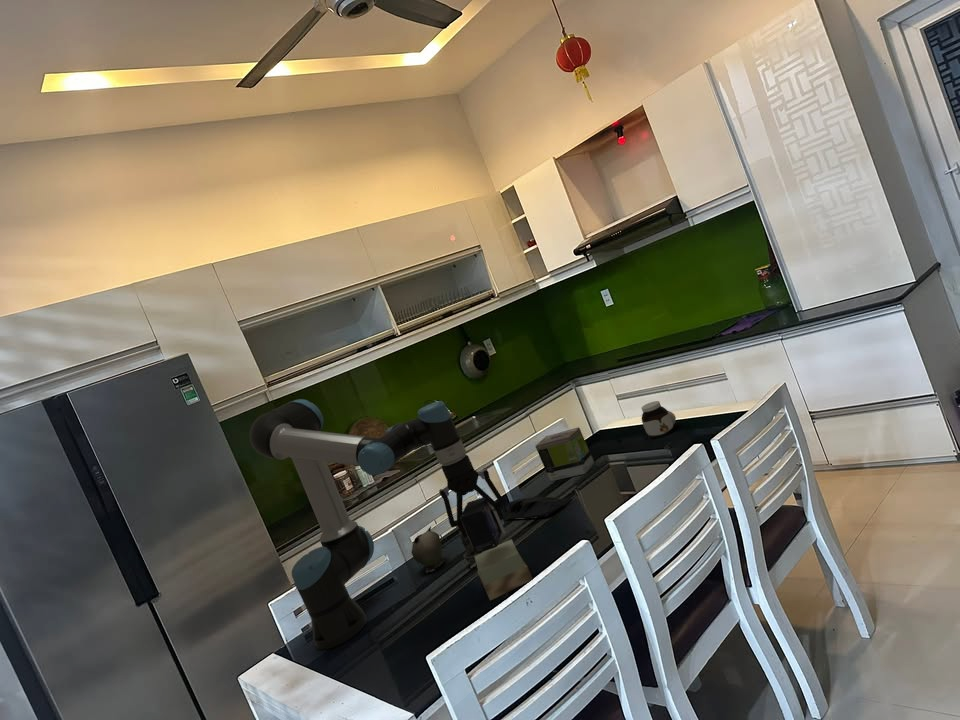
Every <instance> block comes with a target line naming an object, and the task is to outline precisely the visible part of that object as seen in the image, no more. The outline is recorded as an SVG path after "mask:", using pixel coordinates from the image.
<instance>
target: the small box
mask: <svg viewBox="0 0 960 720" xmlns="http://www.w3.org/2000/svg"><path fill="white" fill-rule="evenodd" d="M492 508H494V507H493V506H492V505H491V504H490V503H488V502H487V501H486V500H485V499H484V498H483V497H480V498H477V499H474V500H471V501H468V502H467V503H466V505H465V507H464V509H463V513H462V515H461V517H460V519H461V521H462V523H463V526H464V528H465V530H466V532H467V535H468V537H469V539H470V542H471V544H472V546H473V549H474V551H475V554H478V553H480V552H482V553H483V552H485V551H487V550H489V549H492V548H495V547H497V546H498V545H499V542H500V539H501V536H502V534H503V533H502V532H501V530H500V527H499V525H498V523H497V521H496V518H495V516H494V514H493V511H492Z"/></svg>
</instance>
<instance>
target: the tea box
mask: <svg viewBox="0 0 960 720" xmlns="http://www.w3.org/2000/svg"><path fill="white" fill-rule="evenodd" d="M535 449H536V451H537V453H538V456H539V458H540V460H541V463H542V465H543V467H544V469H545V472H546V475H547V477H548V479H549V481H550V482H553V481H557V480H562V479H567V478H572V477H577V476H580V475H581V476H582V475H585V474H587V472H588V471H589V470H590V469H591V468H592V467H593V466H594V464H595V462H594V458H593V456H592V454H591V452H590V450H589V448H588V444H587V442H586V439H585V437H584V435H583V433H582V430H581V428H580V426H579V427H575V428H572V429H571V428H570V429H568V430H567V429H566V430H563V431H560V432H557V433H553V434H550V435H546V436H544V437H543V438H542V439H541V440H540V441H539V442H537V444H536V445H535Z"/></svg>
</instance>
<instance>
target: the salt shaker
mask: <svg viewBox="0 0 960 720" xmlns="http://www.w3.org/2000/svg"><path fill="white" fill-rule="evenodd" d="M458 534H459V537H460V539H461V544H462V545H463V547H464V549H465V553H464V554H463V559H464V560H465V561H466V562H468V563H474V562H476V561H475V557H474V556H476V555H478V554H480V553H483V552H480V553H478V554H475V551H474V549H473V547H472V545H471V542H470V540H469V538H468V536H467V537H465V538H464V537H463V535H462V533H461V531H460V530H459V531H458Z"/></svg>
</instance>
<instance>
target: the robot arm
mask: <svg viewBox="0 0 960 720" xmlns="http://www.w3.org/2000/svg"><path fill="white" fill-rule="evenodd" d="M323 426H324V417H323V414H322V412H321V410H320V408H318V406H317V405H316V404H314V403H313V402H310V401H309V400H308V399H303V398H301V399H300V398H299V399H295V400H292V401H288V402H287V403H285V404H282V405H281V406H279V407H277V408H274V409H271V410H270V411H268V412H266V413H263V414H260V415H259V416H258V417H257V418H256V419H255V420H254V421H253V423H252V424H251V427H250V430H249V442H250V444H251V447H252V448H253V450H255V452H257V453H258V454H260V455H261V456H263V457H266V458H268V459H275V460H281V461H282V460H286V459H287V458H291V460H292V462H293V464H294V467H295V469H296V472H297V474H298V476H299V479H300V482H301V484H302V486H303V487H302V488H303V489H304V491H305V493H306V495H307V498H308V501H309V503H310V505H311V508H312V510H313V513H314V515H315V517H316V519H317V520H316V521H317V522H318V525H319V527H320V530H321V534H320V537H319V541H320V544H321V546H320V547H316V548H314V549H312V550H310V551H309V552H308V553H306V554H304V555H302V557H300V558H299V559H298V561H296V563H295V564H294V565H293V567H292V568H291V569H292V570H291V577H292V580H293V584H294V586H295V588H296V589H297V591H298V593H299V596H300V598H301V600H302V602H303V604H304V606H305V608H306V611H307V613H308V614H309V618H310V619H311V620H310V621H311V629H312V639H313V642H314V644H315V647H316V648H317V649H318V650H321V651H324V650H330V649H333V648H335V647H337V646H340V645H341V644H344V643H346V642H347V641H349V640H351V639H352V638H353V637H355V636H356V635H357V634H358V633H359V632H360V631H362V629H363V628H364V627H365V626H366V624H367V621H368V617H367V615H366V613H365V611H364V609H362V607H361V606H359V604H358V603H357V602H356V601H355V600H354V599H353V598H352V597H351V595H350V594H349V592H348V589H347V587H346V584H347V583H348V582H349V581H350V580H351V579H352V578H353V577H354V576H356V574H357V573H359V572H360V571H361V570H362V569H363V568H365V567H366V565H367V564H368V563H369V562H370V561H371V559H372V557H373V555H374V552H375V544H374V540H373V537H372V535H371V534H370V532H369V531H368V530H366V528H365V527H364V526H361V525H359V524H358V522H357V521H355V520H352V519H350V517H349V515H348V514H349V513H348V511H347V509H346V507H345V503H344V502H343V500H342V497H341V495H340V492H339V489H338V487H337V484H336V482H335V480H334V477H333V475H332V472H331V470H330V468H329V465H328V463H332V464H333V463H334V464H339V465H340V464H341V465H349V466H355V467H356V466H357V467H359V468H360V469H361V470H362V472H364V473H365V474H367V475H369V476H371V477H372V476H374V477H375V476H379V475H380V474H382V473H384V472H387V471H388V470H389V469H391V468H392V467H393V466H394V465H395V464H397V463H398V462H399V461H400V460H402V459H403V458H405V457H406V456H407V455H408V454H410V453H412V452H413V451H414V450H416V449H418V448H421V447H424V446H428V445H430V446H431V448H432V449H433V452H434V455H435V456H436V459H437V461H438V463H439V465H442V466H441V469H442V472H443V475H444V476H445V479H446V481H447V483H446V485H447V486H445V487H444V488H441V489H439V491H438V493H439V495H440V496H441V498H442V500H443V503H444V506H445V511H446V514H447V518H448V523H449V525H450V528H455V527H457V528H458V529H459V532H460V531H461V533H462V535H463V537H464V538H465V537H467V536H468V535H467V532H466V530H465V528H464V526H463V523H462V521H461V519H460V517H461V515H462V513H463V511H464V509H463V497H464V496H466V495H467V494H468V493H472V492H474V491H475V492H476V493H478V494H479V495H480V496H481V498H484V499H485V500H486V501H487V502H488V503H490V504H491V505H492V507H493V508H492V511H493V514H494V516H495V518H496V521H497V523H498V525H499V527H500V530H501V532H502V533H501V534H502V535H504V534H506V531H505V530H506V529H505V528H504V525H503V523H502V520H503V519H504V515H503V513H502V510H501V506H502V505H503V504H504V503H505V500H504V498H503V497H502V495H501V494H500V492H499V491H498V489H497V488H496V485H495V484H494V483H493V481H492V480H491V478H490V474H489V471H488V469H486V468H483V469H482V470H479V471H477V470H476V469H475V468H474V466H473V464H472V461H471V459H470V457H469V455H467V450H466V447H465V445H464V443H463V441H462V439H461V437H460V435H459V432H458V430H457V428H456V425H455V422H454V419H453V418H452V414H451V413H450V411H449V409H448V407H447V406H446V404H445V402H443V401H442V400H439V401H438V400H437V401H435V402H432V403H430V404H427V405H425V406H423V407H421V408H419V410H417V417H416V418H413V419H412V418H411V419H410V420H407V421H404V422H399V423H396V424H395V425H393V426H391V427H389V428H387V430H386V432H385V433H384V434H383V435H382V436H378V437H374V436H373V437H371V436H363V435H354V434H347V433H337V432H329V431H322V429H323ZM479 477H480V478H481V480H484V481H485V483H486V484H487V485H488V487H489V489H490V490H491V492H492V493H493V496H494V497H495V498H496V501H495V500H494V499H493V498H492V497H491V496H490V495H488V493H487V492H485V491H484V490H483V489H482V488H481V487H480V486H479V485H478V480H479ZM450 491H451V492H453V493H455V494H456V495H455V496H456V498H455V499H456V520H455V518H454V514H453V510H452V508H451V507H452V506H451V502H450V500H449V496H450V493H449V492H450ZM468 538H469V537H468ZM469 540H470V539H469ZM471 545H472V544H471ZM472 547H473V546H472Z"/></svg>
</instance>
